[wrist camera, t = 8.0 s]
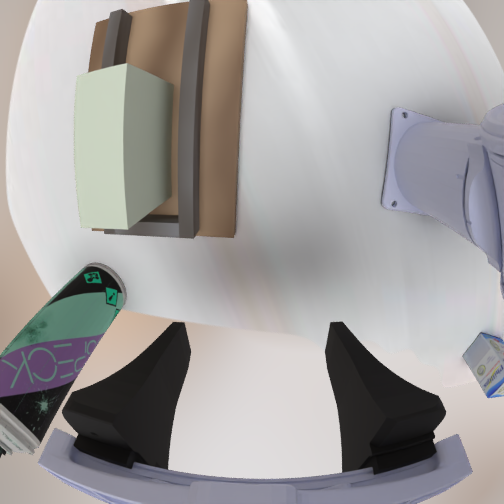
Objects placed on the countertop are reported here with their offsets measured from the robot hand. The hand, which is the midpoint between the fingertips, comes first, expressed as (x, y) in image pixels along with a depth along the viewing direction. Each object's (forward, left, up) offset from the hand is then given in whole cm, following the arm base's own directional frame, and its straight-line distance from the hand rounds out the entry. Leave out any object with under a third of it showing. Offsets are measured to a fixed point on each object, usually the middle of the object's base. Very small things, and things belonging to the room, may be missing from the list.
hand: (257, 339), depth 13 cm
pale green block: (+8, -9, -8) cm, 15 cm away
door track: (+8, -11, -9) cm, 17 cm away
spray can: (+15, +4, -10) cm, 18 cm away
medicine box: (-33, +12, -10) cm, 37 cm away
